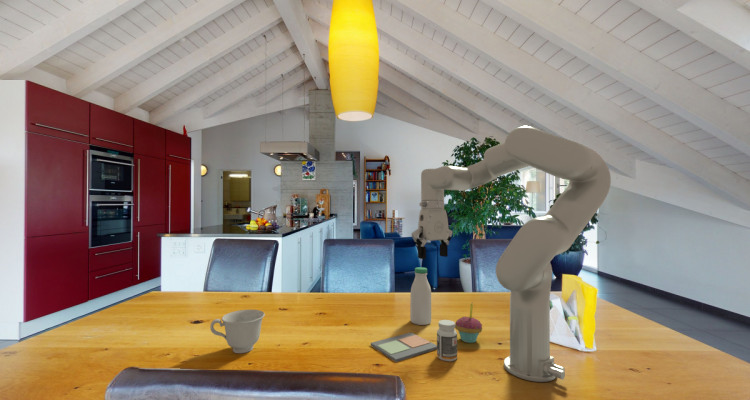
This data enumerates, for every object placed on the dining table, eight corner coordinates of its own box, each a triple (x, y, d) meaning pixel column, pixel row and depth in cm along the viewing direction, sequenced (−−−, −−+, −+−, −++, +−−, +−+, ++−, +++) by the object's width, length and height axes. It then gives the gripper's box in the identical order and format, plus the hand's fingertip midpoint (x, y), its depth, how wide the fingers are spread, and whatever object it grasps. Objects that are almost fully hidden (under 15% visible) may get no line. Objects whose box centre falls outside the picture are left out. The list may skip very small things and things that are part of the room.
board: (438, 348, 99) (438, 345, 99) (396, 362, 90) (396, 358, 90) (410, 334, 110) (410, 331, 110) (370, 345, 101) (370, 342, 101)
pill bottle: (461, 357, 94) (461, 322, 94) (450, 364, 89) (450, 327, 90) (443, 351, 98) (443, 317, 98) (432, 357, 93) (433, 322, 94)
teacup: (211, 346, 100) (211, 313, 100) (262, 338, 106) (263, 307, 106) (208, 363, 89) (209, 326, 89) (266, 354, 95) (266, 319, 95)
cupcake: (464, 332, 112) (464, 297, 112) (487, 340, 106) (487, 302, 106) (450, 339, 106) (450, 302, 106) (474, 348, 100) (474, 308, 100)
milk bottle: (432, 325, 118) (432, 270, 119) (411, 325, 119) (411, 270, 119) (429, 318, 126) (429, 266, 127) (409, 318, 126) (409, 266, 127)
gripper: (420, 205, 102) (420, 261, 101) (459, 206, 111) (459, 256, 111) (405, 206, 108) (405, 258, 108) (443, 206, 117) (443, 254, 117)
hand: (433, 257), depth 109 cm, fingers open, 9 cm apart
